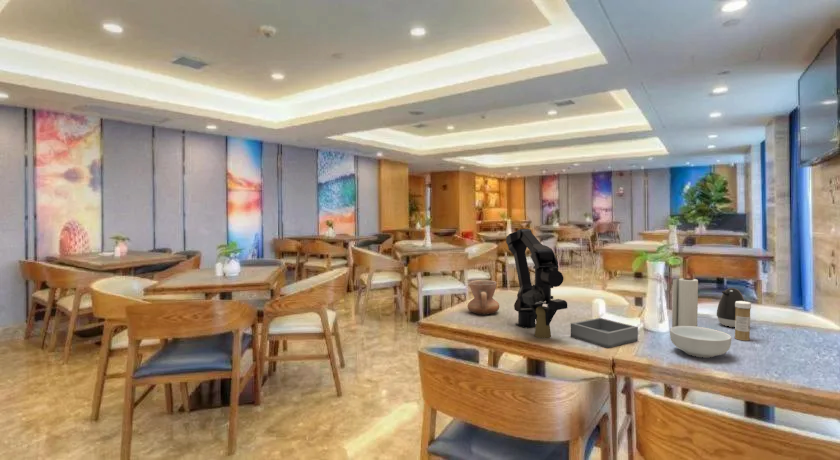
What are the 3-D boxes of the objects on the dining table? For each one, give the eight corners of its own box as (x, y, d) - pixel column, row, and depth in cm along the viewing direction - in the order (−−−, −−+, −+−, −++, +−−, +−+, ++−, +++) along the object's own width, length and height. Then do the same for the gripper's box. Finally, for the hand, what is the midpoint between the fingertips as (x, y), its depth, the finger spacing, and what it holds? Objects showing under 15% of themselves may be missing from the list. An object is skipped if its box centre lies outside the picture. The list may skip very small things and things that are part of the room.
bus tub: (570, 336, 164) (570, 323, 164) (599, 330, 172) (599, 317, 172) (607, 348, 150) (608, 333, 150) (637, 340, 158) (637, 326, 158)
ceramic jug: (468, 308, 213) (467, 278, 212) (499, 308, 211) (498, 278, 210) (466, 318, 195) (466, 286, 194) (500, 318, 193) (499, 286, 192)
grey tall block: (699, 337, 162) (700, 278, 161) (694, 340, 157) (695, 280, 156) (677, 333, 167) (678, 276, 166) (671, 336, 162) (672, 278, 161)
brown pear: (551, 338, 162) (552, 308, 161) (534, 337, 163) (534, 308, 162) (550, 334, 168) (550, 305, 167) (533, 333, 169) (534, 304, 168)
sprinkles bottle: (739, 336, 161) (739, 300, 161) (752, 340, 157) (753, 302, 157) (731, 338, 159) (732, 301, 159) (745, 341, 155) (746, 303, 155)
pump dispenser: (709, 324, 179) (710, 286, 178) (728, 321, 182) (729, 285, 182) (734, 330, 169) (735, 291, 169) (754, 328, 173) (755, 289, 172)
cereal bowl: (707, 366, 132) (708, 342, 132) (658, 350, 148) (658, 329, 147) (743, 357, 139) (744, 335, 139) (692, 343, 154) (692, 323, 154)
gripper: (509, 280, 168) (509, 321, 169) (545, 288, 152) (545, 333, 153) (531, 278, 174) (531, 317, 175) (568, 285, 158) (568, 328, 158)
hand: (542, 324), depth 165 cm, fingers closed on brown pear, 4 cm apart
